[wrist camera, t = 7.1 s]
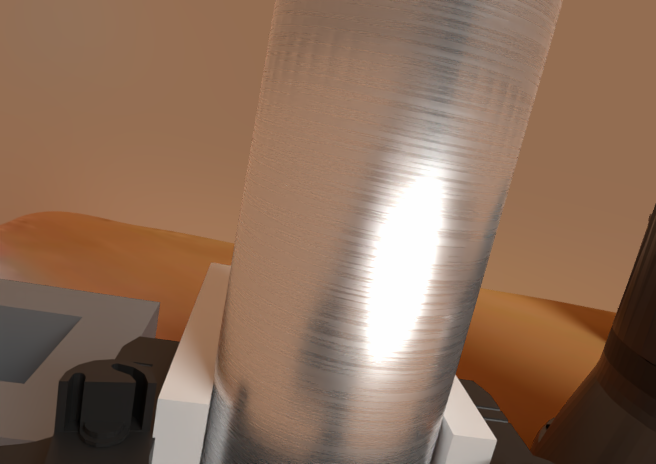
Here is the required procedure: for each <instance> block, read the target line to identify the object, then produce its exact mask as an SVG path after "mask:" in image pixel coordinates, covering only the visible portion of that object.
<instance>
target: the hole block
mask: <svg viewBox="0 0 656 464" xmlns="http://www.w3.org/2000/svg"><path fill="white" fill-rule="evenodd" d="M159 307H160V302H154V301H147V300H140V299H133V298H127V297H120V296H113V295H106V294H100V293H93V292H86V291H80V290H73V289H66V288H59V287H53V286H46V285H39V284H32V283H26V282H19V281H12V280H5V279H0V446H3V445H13V444H22V443H28V442H35V441H39V440H42V439H45V438H49V437H52V436H53V434H54V427H55V416H56V405H57V394H58V383H59V380H60V379H61V377H62V376H63V375H64V373H65V372H66V371H68V370H70V369H72V368H73V367H75V366H77V365H79V364H82V363H86V362H90V361H94V360H107V359H115V358H116V356H117V355H118V353H119V352H120V350H121V348H122V347H123V346H124V345H126V344H127V343H129V342H131V341H132V340H134V339H136V338H138V337H139V336H141V337H149V338H155V336H156V329H157V321H158V314H159Z"/></svg>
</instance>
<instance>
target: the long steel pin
mask: <svg viewBox="0 0 656 464" xmlns="http://www.w3.org/2000/svg"><path fill="white" fill-rule="evenodd" d="M562 2H563V0H276V1H275V6H274V13H273V18H272V25H271V30H270V36H269V43H268V48H267V54H266V61H265V66H264V73H263V79H262V84H261V90H260V97H259V102H258V108H257V114H256V120H255V126H254V132H253V138H252V144H251V151H250V157H249V162H248V168H247V174H246V180H245V186H244V192H243V198H242V204H241V210H240V216H239V222H238V228H237V234H236V240H235V246H234V252H233V258H232V264H231V269H230V275H229V281H228V287H227V293H226V299H225V305H224V311H223V317H222V323H221V329H220V335H219V341H218V347H217V353H216V359H215V365H214V373H213V378H214V385H213V391H212V397H211V403H210V409H209V415H208V420H207V426H206V432H205V438H204V444H203V450H202V456H201V462H200V464H430V461H431V457H432V454H433V450H434V447H435V443H436V440H437V436H438V433H439V430H440V426H441V423H442V419H443V416H444V412H445V409H446V405H447V402H448V398H449V395H450V391H451V388H452V384H453V381H454V377H455V374H456V370H457V367H458V364H459V360H460V357H461V353H462V350H463V346H464V343H465V339H466V336H467V332H468V329H469V325H470V322H471V318H472V315H473V311H474V308H475V304H476V301H477V297H478V294H479V291H480V287H481V284H482V280H483V277H484V273H485V270H486V266H487V262H488V259H489V256H490V252H491V249H492V245H493V242H494V238H495V235H496V231H497V228H498V224H499V221H500V217H501V214H502V210H503V207H504V204H505V200H506V197H507V193H508V190H509V186H510V182H511V179H512V176H513V172H514V169H515V165H516V162H517V158H518V155H519V151H520V148H521V145H522V141H523V138H524V134H525V131H526V127H527V124H528V120H529V117H530V113H531V110H532V106H533V103H534V99H535V96H536V92H537V89H538V85H539V82H540V78H541V75H542V72H543V68H544V65H545V61H546V57H547V54H548V51H549V47H550V44H551V40H552V37H553V33H554V30H555V26H556V23H557V19H558V16H559V12H560V9H561V6H562Z"/></svg>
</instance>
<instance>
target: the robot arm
mask: <svg viewBox="0 0 656 464" xmlns="http://www.w3.org/2000/svg"><path fill="white" fill-rule="evenodd" d="M230 269H231V266H229V265H223V264H217V263H211V264H210V266H209V269H208V272H207V274H206V277H205V279H204V282H203V284H202V287H201V290H200V292H199V295H198V297H197V300H196V302H195V305H194V307H193V310H192V313H191V315H190V318H189V320H188V323H187V325H186V328H185V331H184V333H183V336H182V338H181V341H180V342H177V341H170V340H163V339H156V338H149V337H141V336H139V337H138V338H136V339H134V340H132V341H131V342H129V343H127V344H126V345H124V346H123V347H122V348H121V350H120V352H119V353H118V355H117V356H116V358H115V359H107V360H94V361H90V362H86V363H82V364H79V365H77V366H75V367H73V368H72V369H70V370H68V371H66V372H65V373H64V375H63V376H62V377H61V379H60V380H59V383H58V394H57V405H56V416H55V427H54V434H53V436H52V437H49V438H45V439H42V440H39V441H35V442H28V443H22V444H13V445H3V446H0V464H200V462H201V456H202V450H203V444H204V438H205V432H206V426H207V420H208V415H209V409H210V403H211V397H212V391H213V385H214V378H213V373H214V365H215V359H216V353H217V347H218V341H219V335H220V329H221V323H222V317H223V311H224V305H225V299H226V293H227V287H228V281H229V275H230ZM430 464H656V205H655V207H654V210H653V213H652V216H651V219H650V222H649V224H648V227H647V230H646V233H645V236H644V239H643V241H642V244H641V247H640V250H639V253H638V256H637V259H636V261H635V264H634V267H633V270H632V273H631V276H630V278H629V281H628V284H627V286H626V289H625V292H624V294H623V297H622V300H621V303H620V305H619V308H618V311H617V313H616V316H615V319H614V321H613V325H612V328H611V331H610V333H609V336H608V339H607V341H606V344H605V347H604V350H603V352H602V355H601V358H600V360H599V361H598V363H597V365H596V366H595V367H594V369H593V370H592V371H591V372H590V374H589V375H588V376H587V377H586V378H585V380H584V381H583V382H582V383H581V385H580V386H579V387H578V388H577V390H576V391H575V392H574V393H573V395H572V396H571V397H570V398H569V400H568V401H567V402H566V404H565V405H564V406H563V408H562V409H561V410H560V412H559V413H558V415H557V416H556V417H555V418H553V419H551V420H549V421H548V422H547V423H546V424H545V425H544V426H543V427H542V428H541V430H540V431H539V432H538V434H537V436H536V437H535V439H534V441H533V444H532V447H531V450H529V449H528V447H527V446H526V445H525V443H524V442H523V440H522V439H521V438H520V436H519V435H518V433H517V432H516V431H515V429H514V428H513V426H512V425H511V424H510V423H508V419H507V418H506V416H505V415H504V414H503V412H502V411H500V408H499V407H498V405H497V404H496V402H495V401H494V400H493V398H492V397H491V395H490V394H489V393H488V392H486V391H485V390H484V389H482V388H481V387H480V386H479V385H477V384H476V383H475V382H474V381H470V380H463V379H458V378H457V376H456V375H455V377H454V381H453V384H452V388H451V391H450V395H449V398H448V402H447V405H446V409H445V412H444V416H443V419H442V423H441V426H440V430H439V433H438V436H437V440H436V443H435V447H434V450H433V454H432V457H431V461H430Z"/></svg>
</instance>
